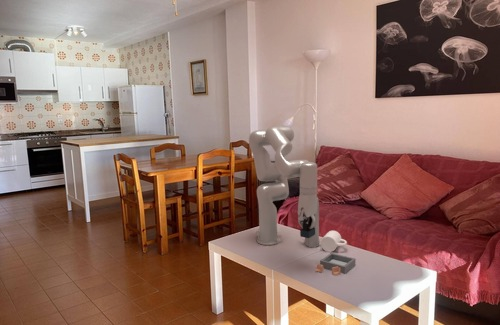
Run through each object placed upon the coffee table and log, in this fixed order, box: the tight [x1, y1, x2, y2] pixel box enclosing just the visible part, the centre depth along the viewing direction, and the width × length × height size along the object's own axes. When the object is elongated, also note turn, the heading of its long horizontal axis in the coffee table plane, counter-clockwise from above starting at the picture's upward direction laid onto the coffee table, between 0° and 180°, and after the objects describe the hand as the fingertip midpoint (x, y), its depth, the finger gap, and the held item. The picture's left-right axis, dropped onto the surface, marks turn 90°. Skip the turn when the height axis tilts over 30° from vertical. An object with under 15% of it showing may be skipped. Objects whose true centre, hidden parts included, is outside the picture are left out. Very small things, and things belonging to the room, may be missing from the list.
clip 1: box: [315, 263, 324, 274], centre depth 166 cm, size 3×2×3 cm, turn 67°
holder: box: [319, 252, 356, 274], centre depth 172 cm, size 12×11×3 cm
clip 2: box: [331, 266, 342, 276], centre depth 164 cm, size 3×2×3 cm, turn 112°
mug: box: [320, 230, 348, 253], centre depth 191 cm, size 12×10×8 cm
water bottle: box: [301, 197, 320, 248], centre depth 196 cm, size 9×8×25 cm
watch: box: [297, 214, 316, 239], centre depth 169 cm, size 6×8×11 cm
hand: (308, 230), depth 169 cm, fingers closed on watch, 3 cm apart
